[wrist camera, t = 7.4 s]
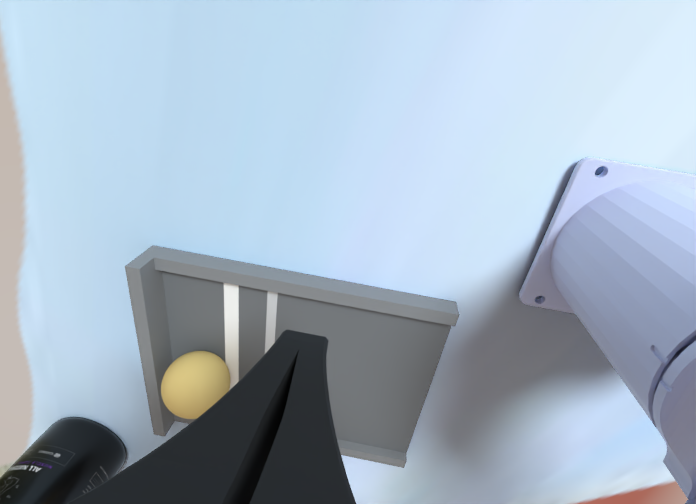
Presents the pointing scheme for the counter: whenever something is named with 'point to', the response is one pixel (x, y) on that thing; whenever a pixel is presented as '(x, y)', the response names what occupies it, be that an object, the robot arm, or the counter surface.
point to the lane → (298, 315)
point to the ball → (194, 383)
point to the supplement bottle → (63, 464)
